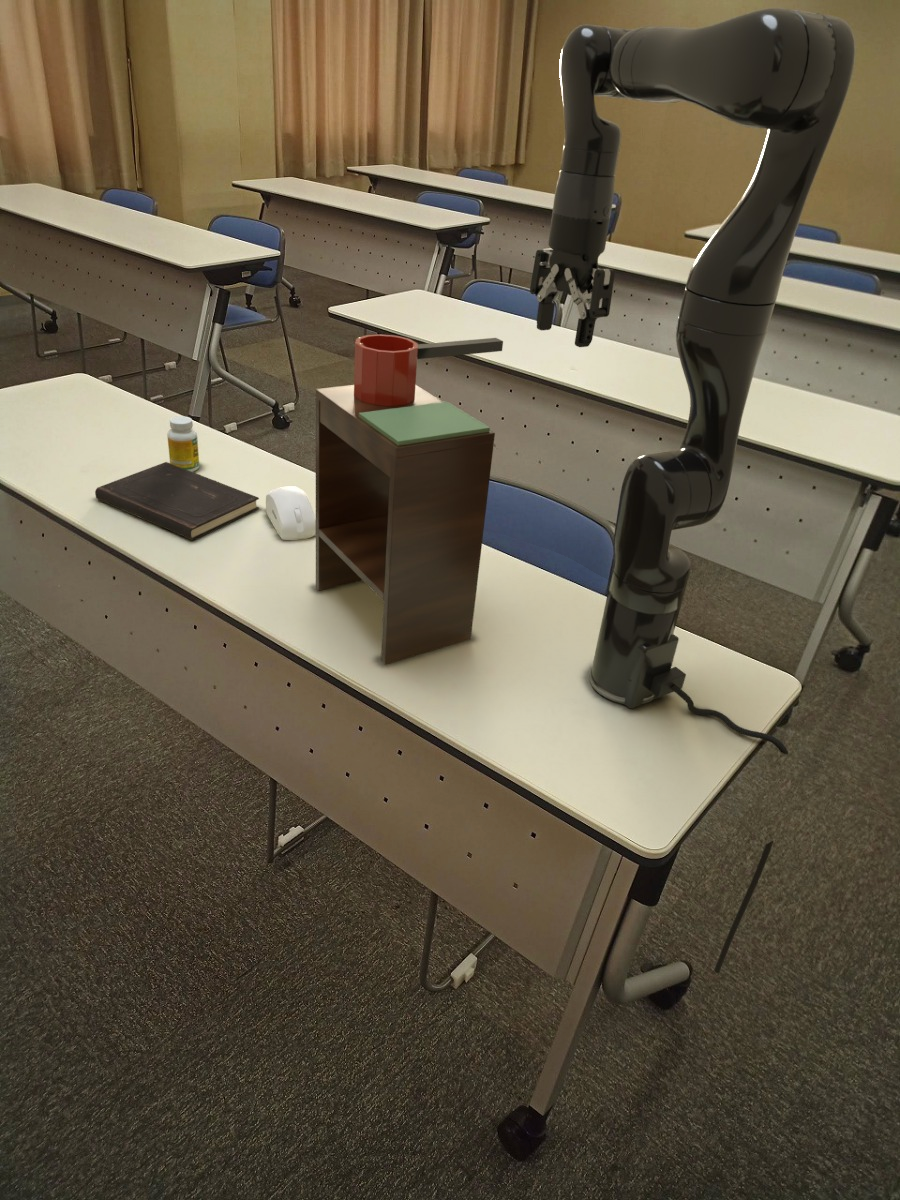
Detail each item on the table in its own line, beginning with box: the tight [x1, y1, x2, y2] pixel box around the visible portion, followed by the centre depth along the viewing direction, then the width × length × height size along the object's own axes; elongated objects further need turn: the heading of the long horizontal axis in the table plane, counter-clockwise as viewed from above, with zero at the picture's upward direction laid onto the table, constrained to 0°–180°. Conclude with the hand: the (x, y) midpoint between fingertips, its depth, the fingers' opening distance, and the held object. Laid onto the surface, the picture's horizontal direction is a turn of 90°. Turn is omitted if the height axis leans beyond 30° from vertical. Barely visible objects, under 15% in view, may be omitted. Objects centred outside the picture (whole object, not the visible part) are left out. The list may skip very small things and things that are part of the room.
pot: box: [353, 333, 504, 406], centre depth 114 cm, size 8×22×7 cm, turn 122°
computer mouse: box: [265, 485, 316, 541], centre depth 144 cm, size 6×13×6 cm, turn 24°
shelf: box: [315, 384, 496, 665], centre depth 117 cm, size 22×14×31 cm, turn 32°
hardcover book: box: [94, 461, 260, 541], centre depth 148 cm, size 16×23×2 cm
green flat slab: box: [359, 401, 491, 446], centre depth 105 cm, size 10×13×1 cm
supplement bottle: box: [166, 415, 200, 472], centre depth 159 cm, size 5×5×10 cm
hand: (562, 337), depth 118 cm, fingers open, 8 cm apart
